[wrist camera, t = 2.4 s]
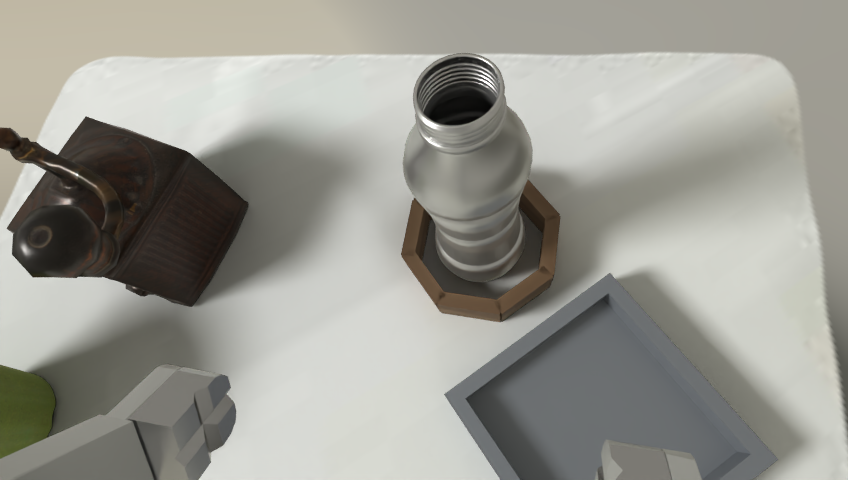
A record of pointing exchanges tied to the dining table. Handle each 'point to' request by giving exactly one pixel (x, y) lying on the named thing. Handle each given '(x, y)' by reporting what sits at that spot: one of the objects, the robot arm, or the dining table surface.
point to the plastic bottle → (469, 165)
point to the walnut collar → (479, 306)
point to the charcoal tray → (600, 397)
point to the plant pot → (23, 409)
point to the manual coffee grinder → (123, 212)
